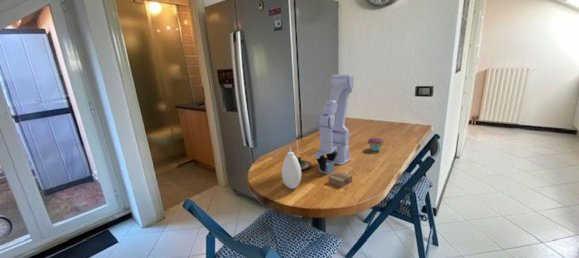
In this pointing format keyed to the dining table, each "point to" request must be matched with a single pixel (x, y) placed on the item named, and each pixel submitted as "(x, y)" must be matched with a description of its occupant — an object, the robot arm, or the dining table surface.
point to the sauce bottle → (291, 171)
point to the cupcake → (375, 143)
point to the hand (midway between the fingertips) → (326, 168)
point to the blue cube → (328, 167)
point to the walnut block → (340, 179)
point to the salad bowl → (302, 162)
